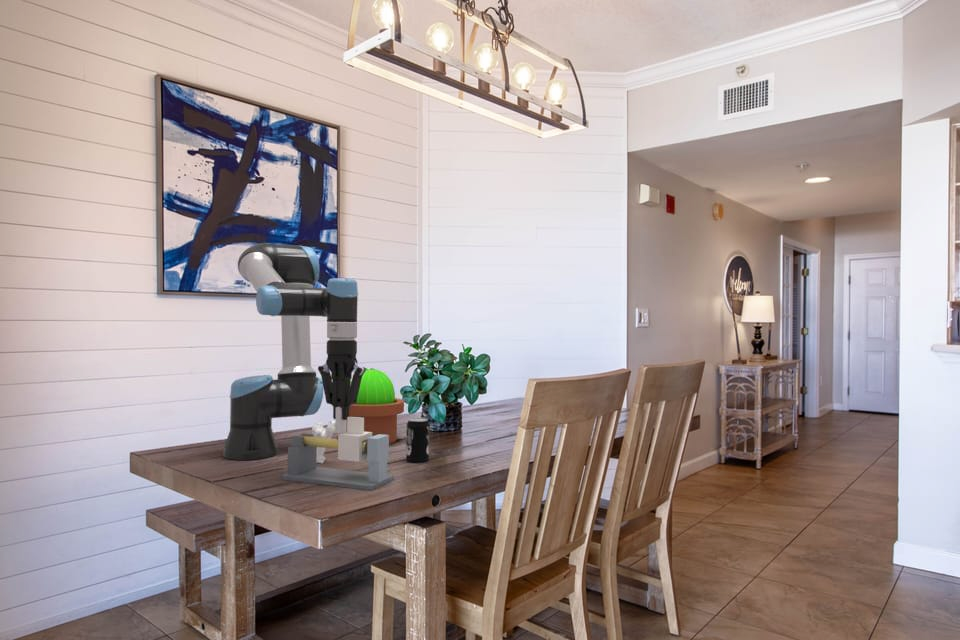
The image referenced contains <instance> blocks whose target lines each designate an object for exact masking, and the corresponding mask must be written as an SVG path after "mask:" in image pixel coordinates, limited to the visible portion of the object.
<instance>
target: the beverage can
mask: <svg viewBox="0 0 960 640" xmlns="http://www.w3.org/2000/svg"><path fill="white" fill-rule="evenodd" d="M407 420H408V421H407V422H406V440H405V441H406V445H405V446H406V447H405V448H406V449H405V450H406V452H405V455H406V456H405V457H406V460H407V462H410V463H415V464H416V463H418V464H420V463H425V462H427V461H428V460H429V459H430V423H429V421H428V420H429V419H428V418H425V417H411V418H408V419H407Z"/></svg>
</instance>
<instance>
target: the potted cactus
mask: <svg viewBox="0 0 960 640" xmlns="http://www.w3.org/2000/svg"><path fill="white" fill-rule="evenodd" d="M365 369H366V370H365V372H364V374H363V376H362V379H361V384H360V388H359V393H358V397H357V402H356V404H353V405H350V407H349V417H360V418H364V432H372V436H375V435H378V434H382V435H389V445H391V444H394V443H395V442H397V438H398V437H397V435H398V433H397V432H398V429H397V428H398V415H401V414H403V413H404V412H405V401H404V399H401V398H398V397H396V392H395V391H396V390H395V387H396V386H394V383H393V381H392V380H391V379H390V377H389V376H388V375H387V373H386V372H383V371H381V370H380V369H378V368H376V369H375V368H373V367H372V368H369V369H368V368H366V367H365ZM351 382H352V379H351V380H350V387H351ZM346 432H347V422H346ZM344 433H345V432H344Z"/></svg>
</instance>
